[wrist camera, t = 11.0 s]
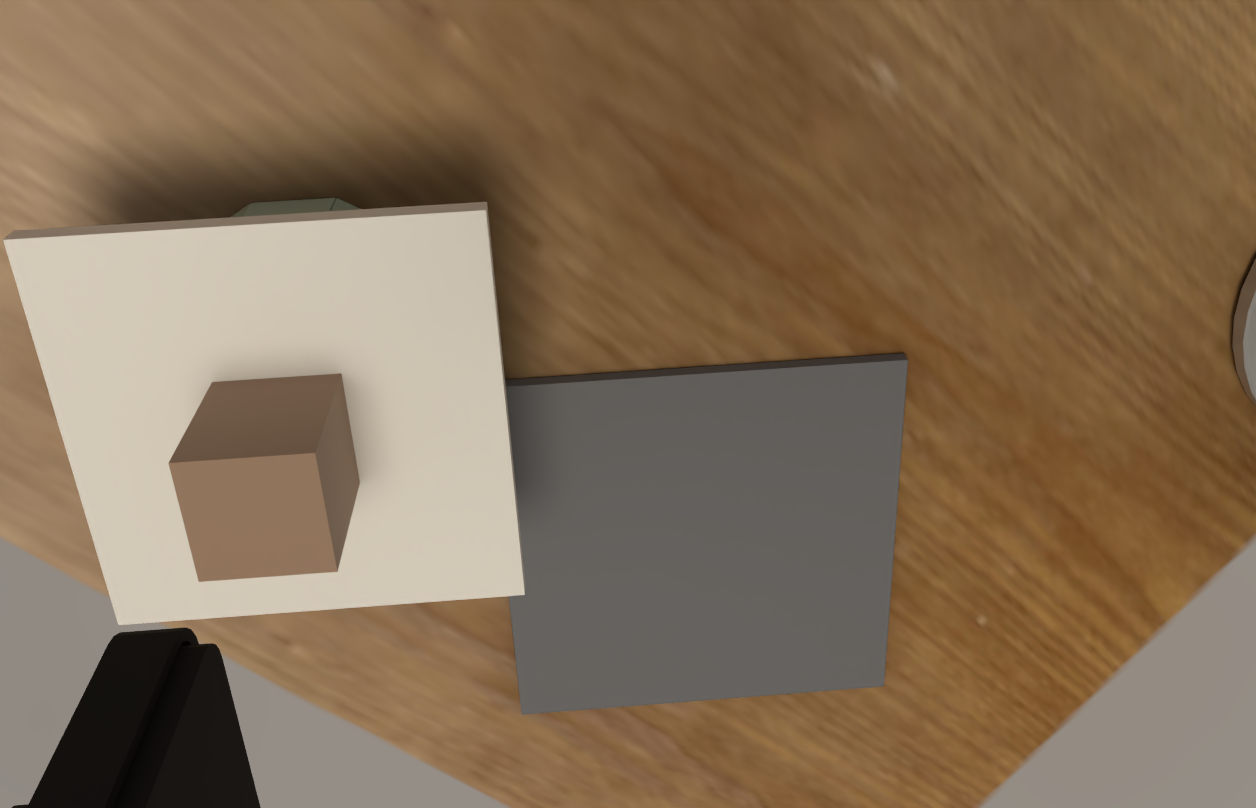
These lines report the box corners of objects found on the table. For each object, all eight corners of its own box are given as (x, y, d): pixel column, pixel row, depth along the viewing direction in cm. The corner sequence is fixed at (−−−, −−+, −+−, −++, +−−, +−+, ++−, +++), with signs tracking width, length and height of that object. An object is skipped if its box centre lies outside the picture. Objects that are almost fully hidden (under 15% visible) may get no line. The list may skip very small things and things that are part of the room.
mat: (903, 353, 46) (907, 359, 46) (880, 677, 54) (883, 686, 53) (486, 381, 46) (486, 388, 45) (521, 704, 53) (521, 714, 52)
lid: (486, 201, 36) (478, 271, 31) (525, 581, 43) (523, 691, 38) (13, 230, 36) (-75, 307, 30) (125, 610, 42) (68, 726, 37)
